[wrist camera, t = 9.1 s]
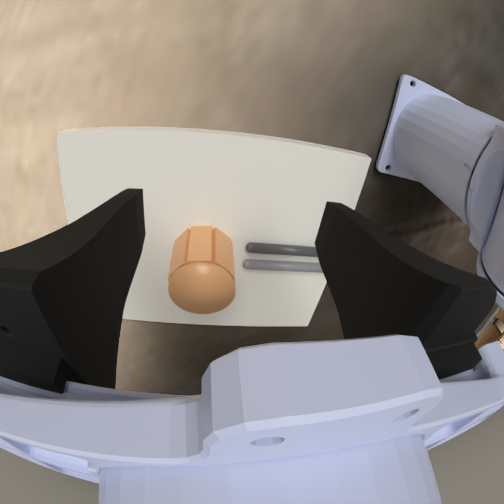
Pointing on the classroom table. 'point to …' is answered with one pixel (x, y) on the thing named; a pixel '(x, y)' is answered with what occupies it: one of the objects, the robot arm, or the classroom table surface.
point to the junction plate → (217, 210)
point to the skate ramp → (490, 328)
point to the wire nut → (202, 270)
